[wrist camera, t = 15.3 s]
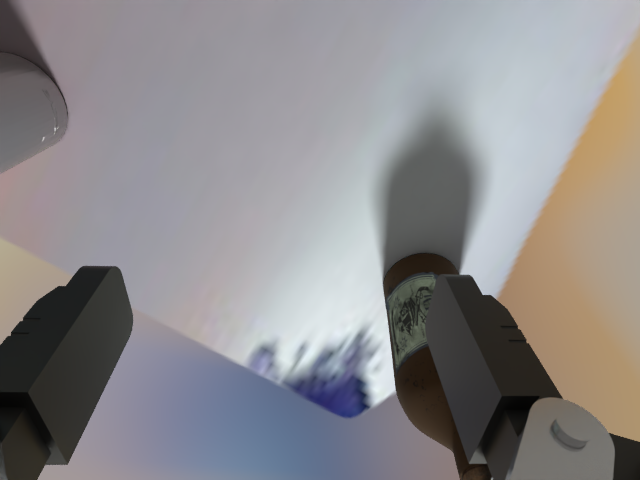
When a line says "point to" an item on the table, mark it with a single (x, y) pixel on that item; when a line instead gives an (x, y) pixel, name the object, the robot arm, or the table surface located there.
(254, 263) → the table surface
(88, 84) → the table surface
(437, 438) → the olive oil
